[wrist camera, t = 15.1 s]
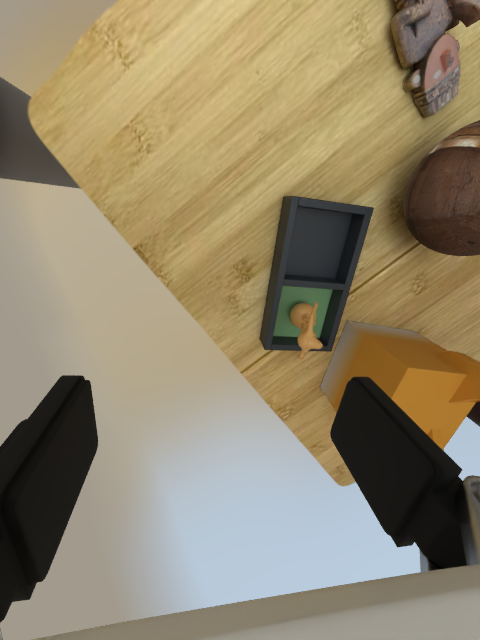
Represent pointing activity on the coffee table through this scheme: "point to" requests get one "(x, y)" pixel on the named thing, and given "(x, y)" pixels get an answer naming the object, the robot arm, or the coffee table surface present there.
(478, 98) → the coffee table surface
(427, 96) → the figurine
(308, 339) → the figurine
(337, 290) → the tray
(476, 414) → the wine bottle
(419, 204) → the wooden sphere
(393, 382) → the fox head
